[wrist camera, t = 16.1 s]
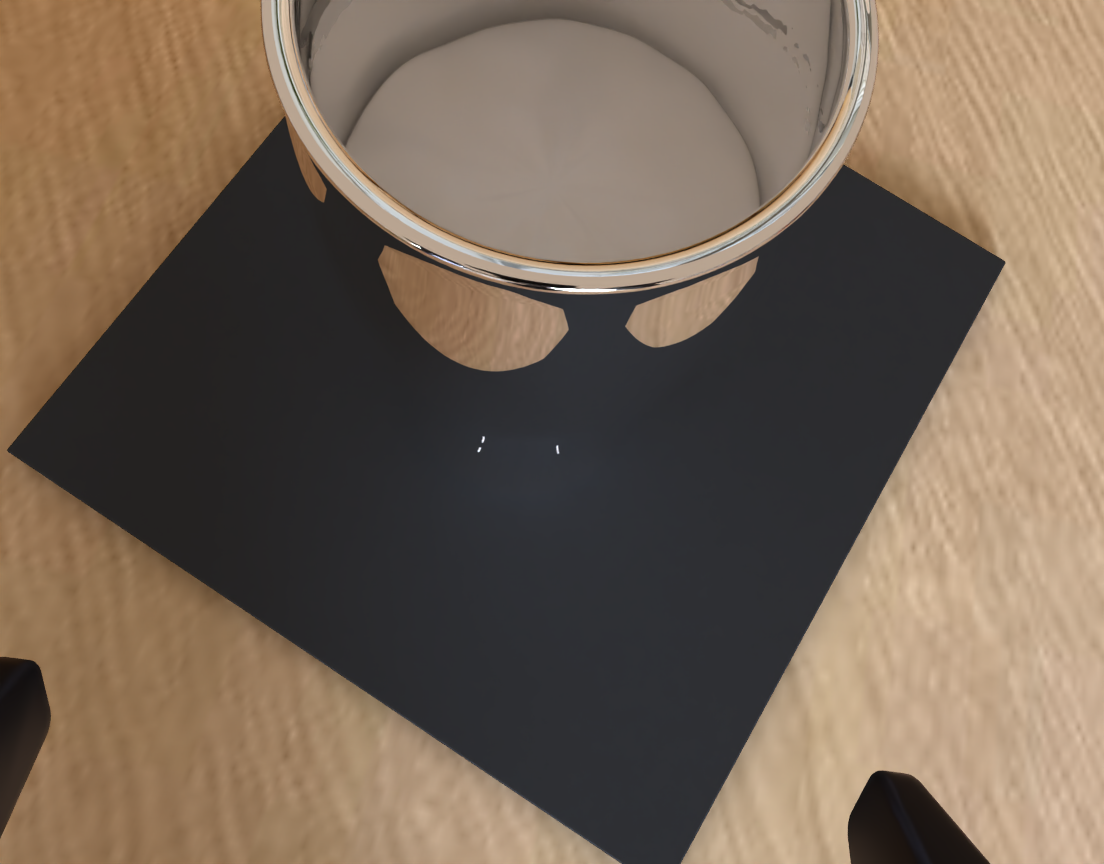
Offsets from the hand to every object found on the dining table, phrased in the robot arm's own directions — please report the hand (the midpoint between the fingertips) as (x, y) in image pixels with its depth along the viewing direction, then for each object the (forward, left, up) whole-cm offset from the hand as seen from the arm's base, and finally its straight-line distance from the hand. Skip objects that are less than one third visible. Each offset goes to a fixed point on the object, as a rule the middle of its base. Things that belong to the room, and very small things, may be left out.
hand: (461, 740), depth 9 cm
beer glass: (+3, -7, -13) cm, 15 cm away
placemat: (+3, -8, -13) cm, 16 cm away
